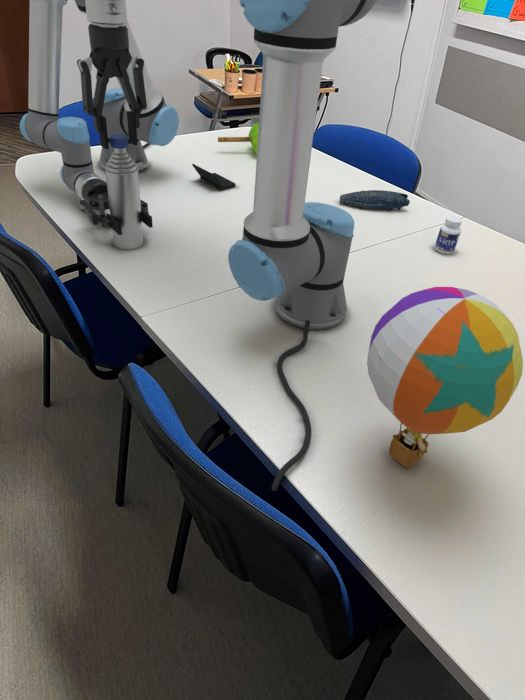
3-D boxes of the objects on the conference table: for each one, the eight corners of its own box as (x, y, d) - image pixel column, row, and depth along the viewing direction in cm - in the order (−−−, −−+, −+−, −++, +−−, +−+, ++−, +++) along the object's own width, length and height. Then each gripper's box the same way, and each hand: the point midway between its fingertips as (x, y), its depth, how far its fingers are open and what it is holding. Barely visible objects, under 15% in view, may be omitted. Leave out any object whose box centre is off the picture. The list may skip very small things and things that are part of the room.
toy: (317, 448, 82) (351, 286, 63) (393, 397, 93) (442, 246, 74) (418, 536, 71) (496, 372, 52) (491, 467, 82) (578, 310, 63)
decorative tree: (215, 117, 188) (295, 117, 193) (215, 147, 195) (292, 146, 200) (221, 131, 174) (307, 131, 180) (221, 163, 181) (304, 161, 186)
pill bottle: (433, 251, 139) (442, 220, 133) (435, 243, 143) (444, 213, 137) (453, 256, 138) (464, 225, 132) (454, 247, 142) (465, 217, 136)
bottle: (110, 238, 132) (98, 135, 116) (139, 234, 134) (131, 133, 119) (117, 251, 127) (105, 145, 111) (146, 247, 129) (139, 143, 114)
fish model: (408, 214, 157) (412, 198, 153) (339, 207, 158) (341, 191, 154) (406, 206, 162) (410, 190, 159) (339, 199, 163) (341, 183, 160)
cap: (117, 142, 118) (116, 132, 116) (131, 145, 117) (130, 135, 115) (106, 146, 115) (105, 136, 114) (121, 150, 114) (120, 140, 113)
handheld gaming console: (239, 179, 164) (224, 157, 156) (229, 197, 163) (213, 176, 155) (213, 174, 171) (197, 153, 162) (202, 192, 169) (186, 171, 161)
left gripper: (131, 198, 145) (173, 231, 131) (59, 213, 134) (97, 250, 121) (129, 171, 140) (172, 202, 126) (54, 185, 129) (93, 220, 116)
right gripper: (66, 28, 94) (84, 156, 109) (160, 26, 104) (165, 144, 118) (51, 21, 99) (70, 145, 113) (143, 20, 108) (150, 135, 123)
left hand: (135, 225), depth 124 cm, fingers closed on bottle, 7 cm apart
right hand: (119, 145), depth 116 cm, fingers open, 6 cm apart
